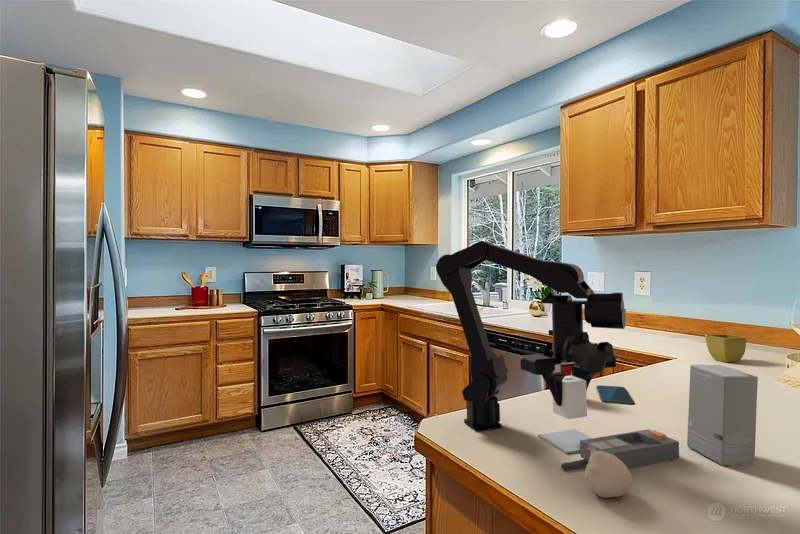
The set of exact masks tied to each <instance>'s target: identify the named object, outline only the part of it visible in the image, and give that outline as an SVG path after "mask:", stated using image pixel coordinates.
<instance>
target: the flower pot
mask: <svg viewBox="0 0 800 534" xmlns="http://www.w3.org/2000/svg"><path fill="white" fill-rule="evenodd" d="M704 337H705V342H706V347H707V351H708V352H709V354H710V356H711V357H712V359H714V360H715V361H719V362H723V363H739V362H740V361H741V359H742V358H744V355H745V353H746V350H747V349H746V347H747V339H748V338H747V336H741V335H734V334H727V333H720V334H719V333H718V334H705V335H704Z"/></svg>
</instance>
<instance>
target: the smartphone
mask: <svg viewBox="0 0 800 534" xmlns="http://www.w3.org/2000/svg"><path fill="white" fill-rule="evenodd" d="M595 389H596V391H597V393H599V394H598V396H599V399H600V401H601V402H602V403H604V402H605V403H606V404H613V403H615V404H617V403H618V405H619V404H620V405H629V406H633V405H635V401H634V400H633V398H632V396H631V395H630V394H629V392H628V390H627V389H626V387H624V386H616V385H603V384H602V385H601V384H600V385H596V388H595ZM605 403H604V404H605Z"/></svg>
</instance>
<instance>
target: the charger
mask: <svg viewBox="0 0 800 534" xmlns="http://www.w3.org/2000/svg"><path fill="white" fill-rule="evenodd" d="M587 392H588V391H586V381H585V380H583V379H580V378H577V377H574V376H565V377H564V378H563V380H562V406H558V405H557V404H556V402H555V400H554V398H553V397H552V412H553V413H554V414H557V415H558V416H561V417H562V418H565V419H566V420H571V419H578V418H584V417H585V418H586V417H588V401H587V400H588V399H587V398H588V397H587V395H588V394H587Z"/></svg>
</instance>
